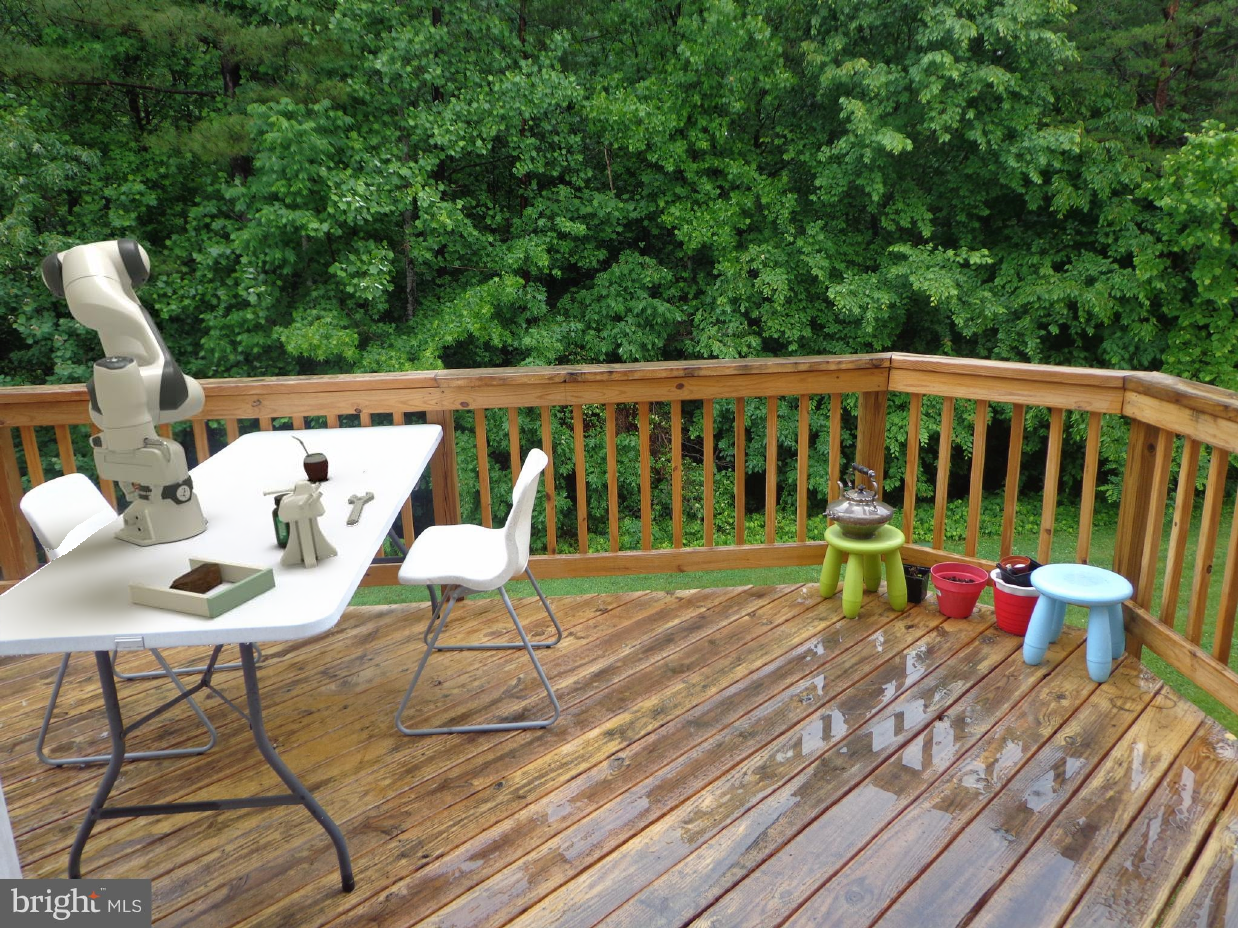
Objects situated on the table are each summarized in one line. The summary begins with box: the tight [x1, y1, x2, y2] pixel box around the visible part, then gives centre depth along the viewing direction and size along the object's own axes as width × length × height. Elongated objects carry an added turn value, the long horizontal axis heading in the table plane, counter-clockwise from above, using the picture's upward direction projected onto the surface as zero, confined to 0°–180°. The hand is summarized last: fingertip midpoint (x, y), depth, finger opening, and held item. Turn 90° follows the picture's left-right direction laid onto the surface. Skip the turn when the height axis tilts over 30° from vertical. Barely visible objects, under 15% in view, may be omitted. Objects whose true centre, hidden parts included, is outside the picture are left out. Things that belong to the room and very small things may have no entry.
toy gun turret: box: [262, 480, 339, 569], centre depth 194 cm, size 12×13×18 cm
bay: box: [128, 556, 276, 619], centre depth 179 cm, size 23×16×4 cm
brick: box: [168, 563, 223, 595], centre depth 180 cm, size 11×4×5 cm, turn 164°
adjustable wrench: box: [345, 491, 375, 526], centre depth 228 cm, size 25×6×2 cm, turn 5°
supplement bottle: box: [271, 492, 292, 549], centre depth 205 cm, size 7×7×12 cm
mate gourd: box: [291, 435, 329, 485], centre depth 256 cm, size 8×8×15 cm
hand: (144, 501), depth 179 cm, fingers open, 5 cm apart
